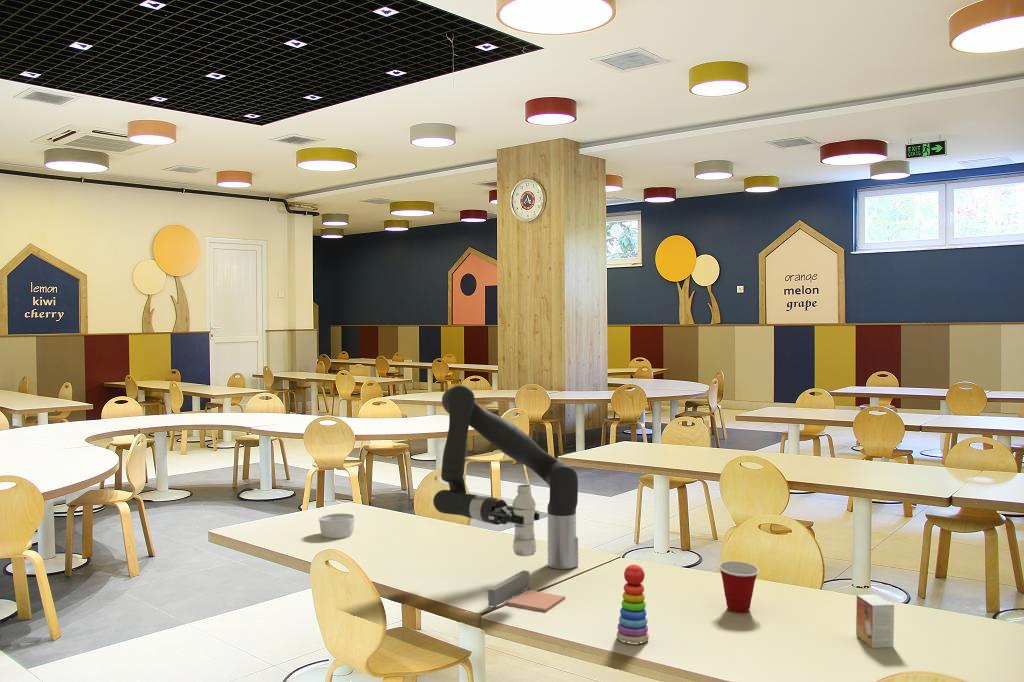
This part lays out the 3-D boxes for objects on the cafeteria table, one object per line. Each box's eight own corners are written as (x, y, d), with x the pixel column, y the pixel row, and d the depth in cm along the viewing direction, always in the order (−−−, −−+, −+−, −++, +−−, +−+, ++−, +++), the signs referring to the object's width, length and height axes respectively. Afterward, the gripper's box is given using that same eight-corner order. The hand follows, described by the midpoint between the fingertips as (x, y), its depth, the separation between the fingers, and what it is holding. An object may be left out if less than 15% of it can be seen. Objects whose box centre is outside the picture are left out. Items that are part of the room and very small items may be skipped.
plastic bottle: (534, 559, 236) (533, 488, 235) (510, 558, 237) (510, 487, 237) (538, 553, 242) (538, 484, 241) (515, 551, 243) (514, 483, 243)
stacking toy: (627, 647, 204) (627, 571, 204) (610, 636, 212) (610, 562, 211) (655, 642, 207) (654, 567, 207) (637, 631, 215) (637, 558, 214)
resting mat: (528, 592, 246) (528, 589, 246) (565, 599, 240) (565, 596, 240) (507, 604, 236) (507, 602, 236) (545, 611, 230) (545, 609, 230)
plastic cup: (737, 619, 223) (737, 574, 223) (710, 607, 233) (710, 564, 232) (768, 612, 228) (768, 568, 228) (740, 600, 238) (740, 558, 237)
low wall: (523, 586, 252) (523, 570, 251) (529, 587, 251) (529, 571, 250) (488, 606, 234) (488, 589, 234) (494, 608, 233) (494, 590, 233)
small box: (855, 636, 211) (855, 594, 210) (877, 635, 211) (877, 593, 211) (872, 648, 203) (872, 605, 202) (894, 647, 203) (894, 604, 203)
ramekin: (326, 530, 322) (326, 512, 322) (359, 531, 320) (359, 513, 320) (313, 539, 309) (313, 520, 309) (348, 540, 307) (348, 521, 307)
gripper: (470, 501, 243) (513, 509, 232) (504, 493, 254) (547, 501, 243) (471, 526, 244) (513, 536, 232) (504, 517, 254) (547, 527, 243)
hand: (530, 518), depth 238 cm, fingers closed on plastic bottle, 6 cm apart
